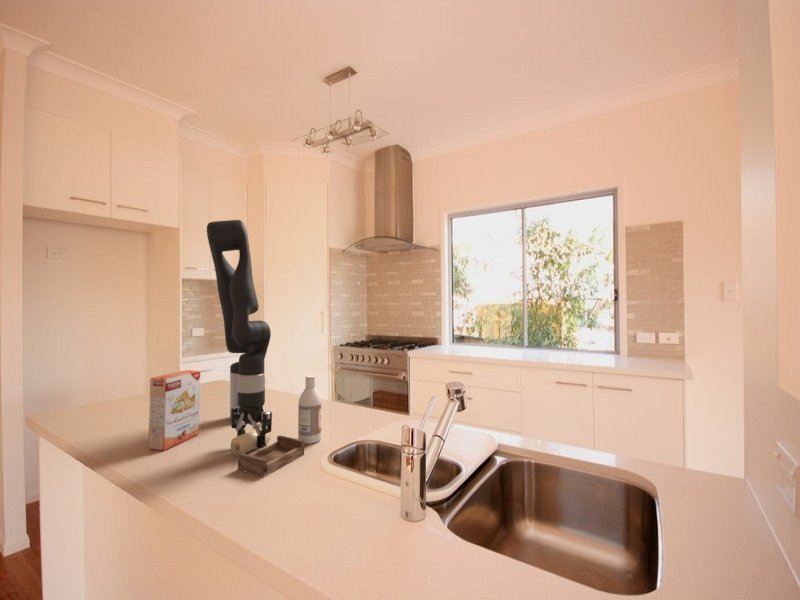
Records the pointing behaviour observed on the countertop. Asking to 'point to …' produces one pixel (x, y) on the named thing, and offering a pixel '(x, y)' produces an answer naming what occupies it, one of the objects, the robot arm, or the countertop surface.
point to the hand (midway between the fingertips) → (250, 445)
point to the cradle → (271, 456)
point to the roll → (246, 442)
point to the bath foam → (309, 413)
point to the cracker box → (173, 409)
